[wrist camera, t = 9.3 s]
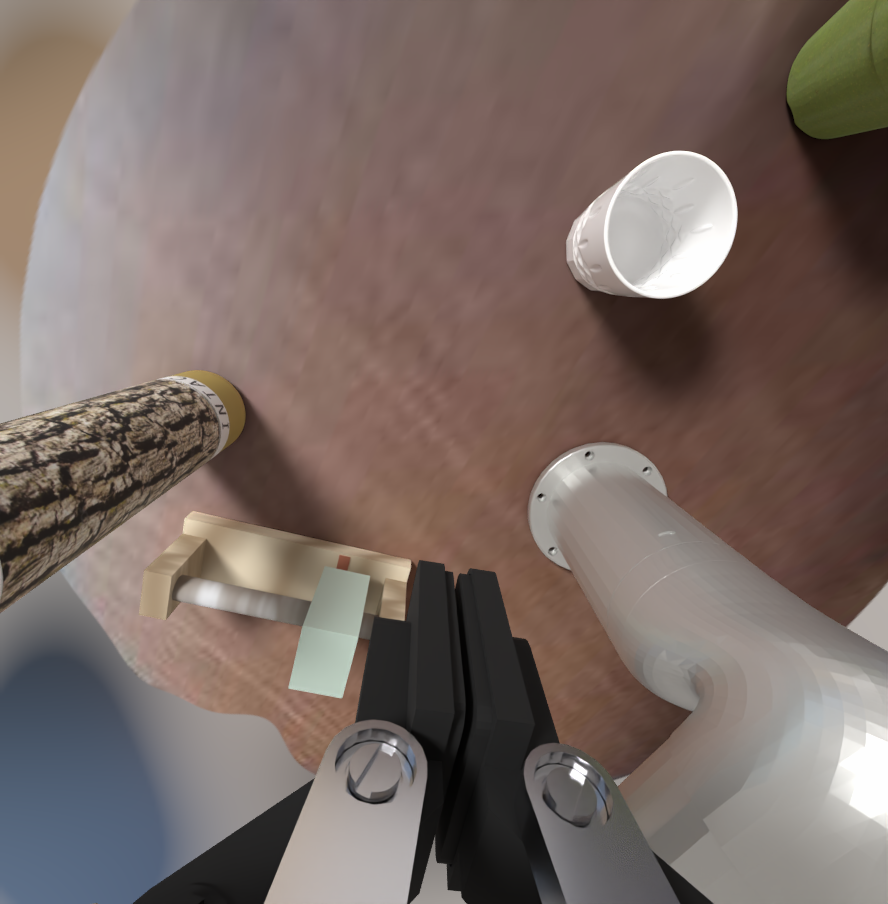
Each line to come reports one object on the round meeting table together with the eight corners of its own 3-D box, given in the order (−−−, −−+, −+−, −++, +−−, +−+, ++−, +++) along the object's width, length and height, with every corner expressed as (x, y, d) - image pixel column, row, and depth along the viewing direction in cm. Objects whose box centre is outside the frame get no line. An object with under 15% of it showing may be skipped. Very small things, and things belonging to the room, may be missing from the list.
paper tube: (223, 463, 41) (-54, 684, 17) (150, 418, 40) (-264, 589, 16) (264, 401, 40) (24, 547, 16) (190, 351, 38) (-198, 429, 14)
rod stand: (411, 559, 45) (409, 608, 37) (393, 621, 46) (387, 679, 39) (192, 511, 42) (146, 553, 35) (183, 577, 44) (137, 630, 37)
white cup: (677, 231, 37) (765, 205, 28) (615, 319, 39) (678, 323, 29) (598, 168, 36) (663, 119, 26) (537, 263, 37) (577, 249, 28)
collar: (370, 575, 41) (358, 637, 34) (356, 628, 43) (342, 698, 35) (324, 566, 41) (302, 625, 33) (312, 619, 43) (288, 688, 35)
